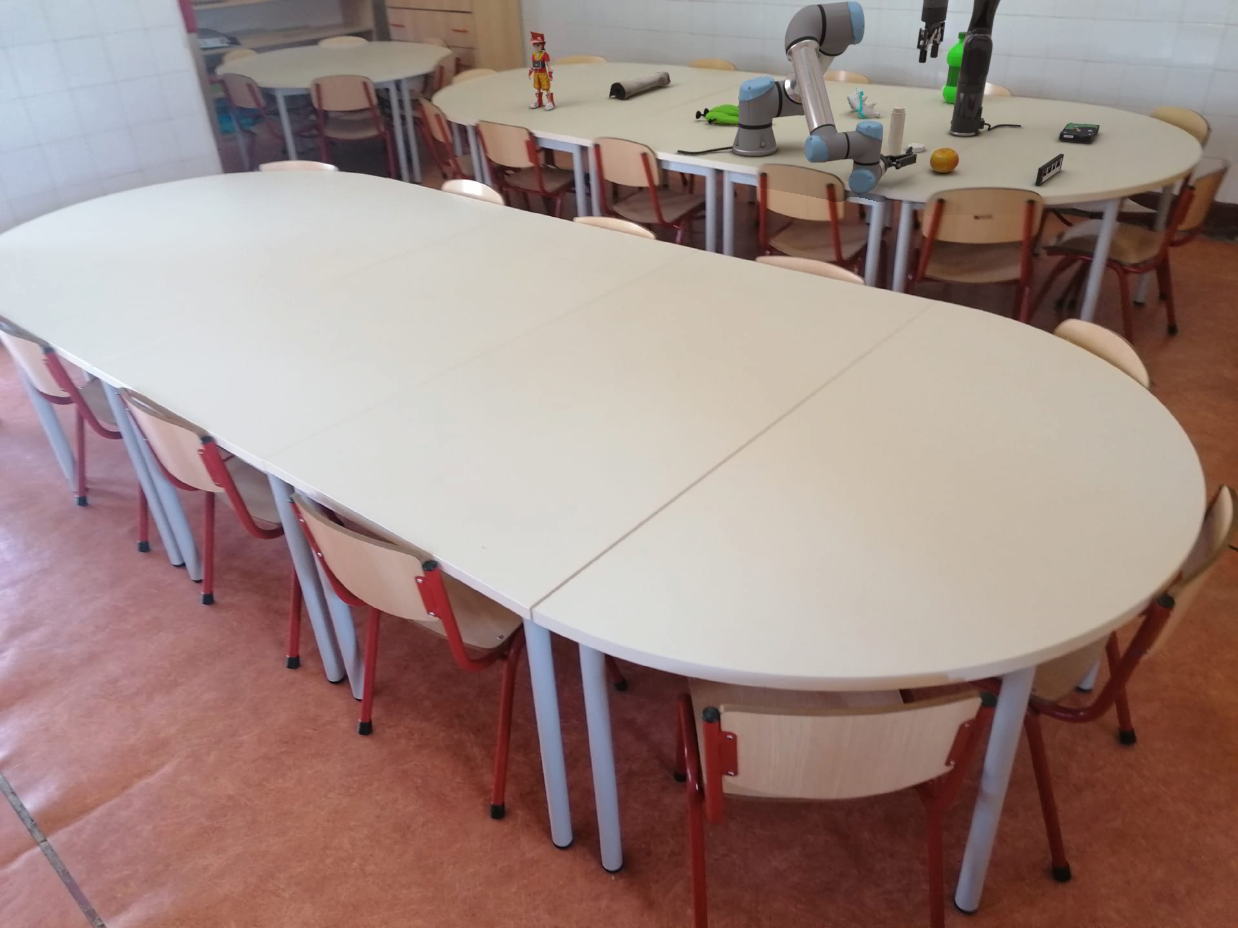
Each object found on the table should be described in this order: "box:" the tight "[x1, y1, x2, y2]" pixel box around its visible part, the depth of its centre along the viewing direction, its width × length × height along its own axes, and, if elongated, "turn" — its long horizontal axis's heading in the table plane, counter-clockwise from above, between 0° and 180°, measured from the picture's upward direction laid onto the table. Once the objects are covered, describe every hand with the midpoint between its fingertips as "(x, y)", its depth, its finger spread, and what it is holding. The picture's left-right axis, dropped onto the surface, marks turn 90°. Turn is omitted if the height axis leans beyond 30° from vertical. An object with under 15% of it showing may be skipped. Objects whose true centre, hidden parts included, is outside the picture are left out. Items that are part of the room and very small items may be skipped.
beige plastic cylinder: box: [885, 105, 907, 159], centre depth 290 cm, size 4×4×17 cm
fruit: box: [929, 147, 960, 174], centre depth 283 cm, size 8×8×8 cm
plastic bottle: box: [942, 31, 967, 104], centre depth 348 cm, size 10×10×25 cm
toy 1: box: [527, 31, 556, 111], centre depth 374 cm, size 12×9×30 cm
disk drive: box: [1058, 122, 1101, 144], centre depth 307 cm, size 10×3×15 cm
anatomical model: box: [846, 87, 881, 119], centre depth 344 cm, size 15×10×10 cm
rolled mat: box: [608, 71, 672, 101], centre depth 395 cm, size 30×9×10 cm
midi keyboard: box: [1035, 153, 1065, 186], centre depth 273 cm, size 18×1×5 cm, turn 138°
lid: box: [906, 142, 925, 153], centre depth 305 cm, size 5×5×2 cm
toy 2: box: [695, 103, 739, 125], centre depth 347 cm, size 28×5×30 cm
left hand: (889, 149), depth 286 cm, fingers open, 13 cm apart
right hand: (927, 60), depth 289 cm, fingers open, 8 cm apart
